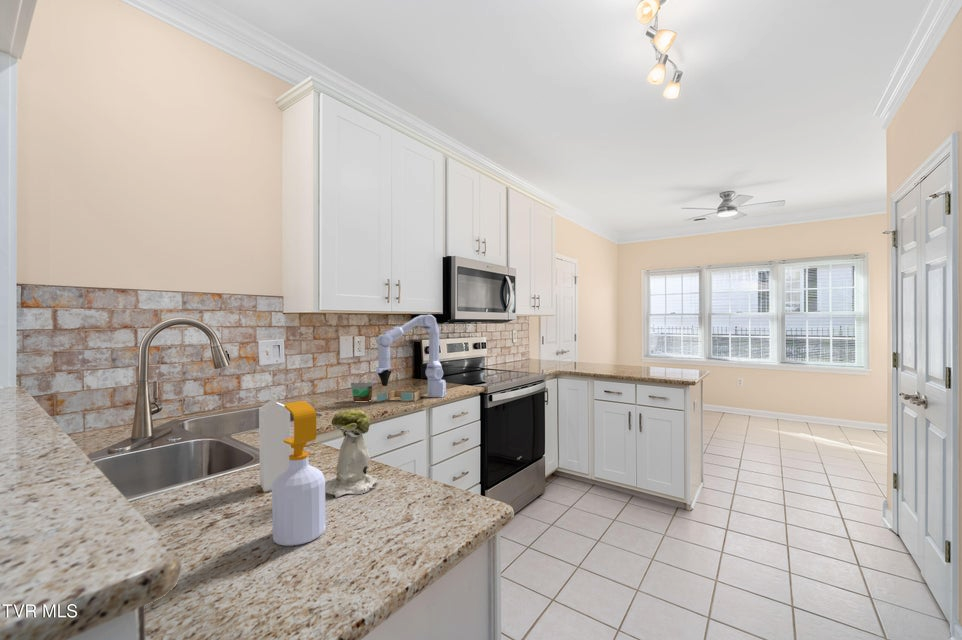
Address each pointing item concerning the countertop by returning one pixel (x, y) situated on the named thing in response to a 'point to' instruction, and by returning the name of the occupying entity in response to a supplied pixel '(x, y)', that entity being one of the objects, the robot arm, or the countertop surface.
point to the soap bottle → (299, 486)
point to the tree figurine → (351, 455)
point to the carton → (398, 392)
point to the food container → (362, 391)
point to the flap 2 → (406, 396)
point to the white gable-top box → (273, 442)
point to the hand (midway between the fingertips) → (384, 385)
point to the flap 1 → (381, 396)
